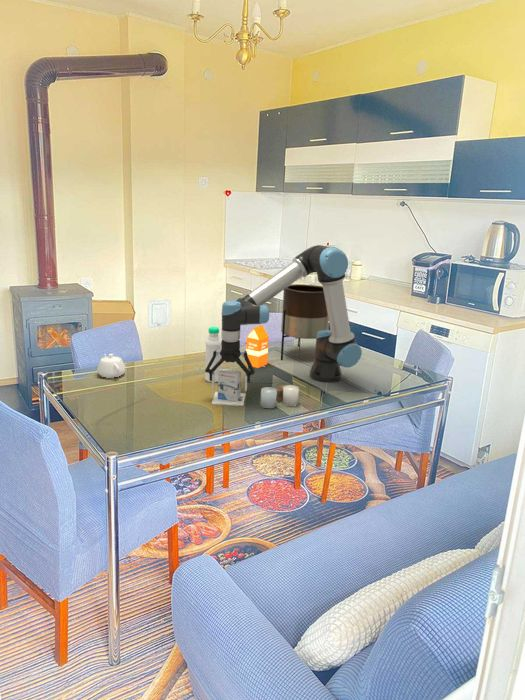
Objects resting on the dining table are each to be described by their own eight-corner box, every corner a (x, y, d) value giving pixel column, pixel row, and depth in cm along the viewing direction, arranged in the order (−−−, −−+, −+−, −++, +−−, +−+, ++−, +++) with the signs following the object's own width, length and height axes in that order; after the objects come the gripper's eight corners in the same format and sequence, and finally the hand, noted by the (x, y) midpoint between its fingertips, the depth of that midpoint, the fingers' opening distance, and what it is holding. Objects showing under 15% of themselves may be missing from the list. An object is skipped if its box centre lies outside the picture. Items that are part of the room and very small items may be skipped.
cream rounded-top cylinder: (297, 401, 216) (298, 385, 214) (297, 407, 210) (298, 391, 208) (282, 400, 216) (283, 384, 214) (282, 406, 210) (283, 390, 208)
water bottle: (218, 383, 232) (219, 330, 225) (203, 381, 233) (203, 328, 226) (222, 378, 238) (223, 326, 231) (207, 377, 240) (208, 325, 233)
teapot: (91, 370, 241) (90, 350, 238) (117, 367, 248) (116, 346, 245) (104, 383, 225) (103, 361, 222) (132, 379, 232) (131, 358, 229)
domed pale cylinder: (275, 403, 212) (276, 387, 210) (275, 409, 206) (276, 393, 204) (260, 402, 213) (261, 386, 211) (260, 408, 206) (260, 392, 204)
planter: (275, 348, 290) (279, 282, 280) (319, 349, 293) (324, 284, 283) (282, 363, 265) (286, 291, 254) (330, 363, 268) (336, 292, 257)
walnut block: (282, 396, 221) (282, 385, 219) (287, 400, 216) (288, 389, 215) (271, 397, 219) (272, 386, 217) (277, 401, 214) (277, 390, 213)
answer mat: (245, 394, 220) (245, 393, 220) (243, 406, 208) (243, 404, 207) (215, 393, 220) (215, 391, 220) (211, 404, 208) (211, 403, 208)
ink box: (217, 398, 213) (217, 371, 209) (221, 394, 217) (222, 368, 214) (236, 401, 210) (237, 374, 207) (240, 397, 215) (241, 371, 212)
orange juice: (267, 363, 263) (269, 326, 257) (258, 368, 256) (259, 329, 250) (254, 360, 267) (256, 323, 261) (245, 364, 260) (246, 326, 254)
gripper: (261, 338, 210) (259, 387, 216) (201, 335, 211) (200, 384, 217) (261, 343, 203) (259, 393, 209) (198, 340, 203) (198, 390, 209)
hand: (229, 389), depth 213 cm, fingers open, 13 cm apart
